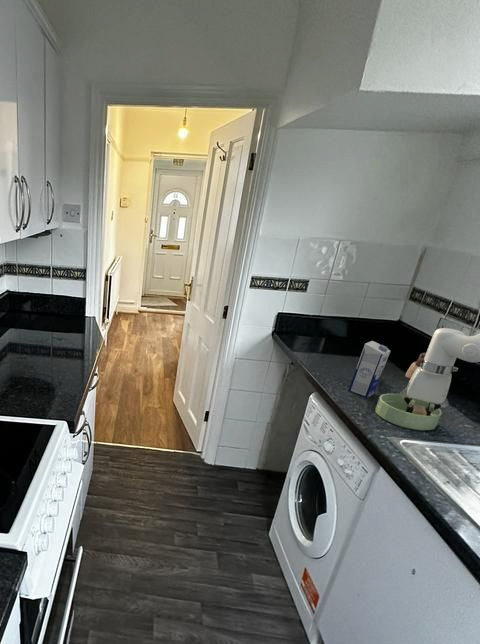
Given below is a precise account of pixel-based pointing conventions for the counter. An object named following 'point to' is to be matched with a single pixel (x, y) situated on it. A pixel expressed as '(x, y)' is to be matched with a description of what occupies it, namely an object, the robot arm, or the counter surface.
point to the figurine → (415, 366)
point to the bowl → (405, 413)
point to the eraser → (419, 410)
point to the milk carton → (369, 369)
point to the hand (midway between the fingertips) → (415, 417)
